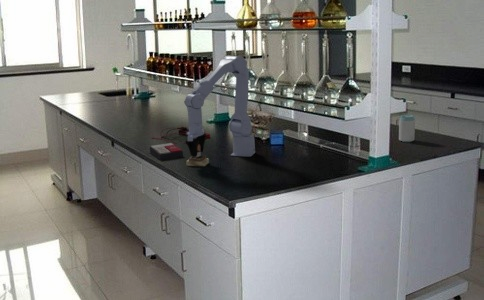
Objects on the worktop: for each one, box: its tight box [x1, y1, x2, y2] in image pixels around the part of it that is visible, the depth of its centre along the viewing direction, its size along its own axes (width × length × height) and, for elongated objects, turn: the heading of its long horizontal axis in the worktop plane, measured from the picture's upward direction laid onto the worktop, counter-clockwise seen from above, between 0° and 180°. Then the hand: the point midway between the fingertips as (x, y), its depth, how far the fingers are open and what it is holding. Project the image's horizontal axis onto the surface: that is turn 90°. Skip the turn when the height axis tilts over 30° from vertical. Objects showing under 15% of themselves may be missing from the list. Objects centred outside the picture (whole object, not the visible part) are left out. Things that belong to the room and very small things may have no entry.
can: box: [398, 114, 416, 143], centre depth 264 cm, size 7×7×12 cm
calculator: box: [149, 142, 184, 161], centre depth 256 cm, size 11×4×15 cm
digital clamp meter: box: [151, 126, 211, 145], centre depth 290 cm, size 23×4×25 cm
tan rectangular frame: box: [185, 154, 210, 167], centre depth 238 cm, size 8×6×3 cm
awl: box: [194, 144, 202, 158], centre depth 238 cm, size 3×3×6 cm
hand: (197, 154), depth 238 cm, fingers open, 7 cm apart
